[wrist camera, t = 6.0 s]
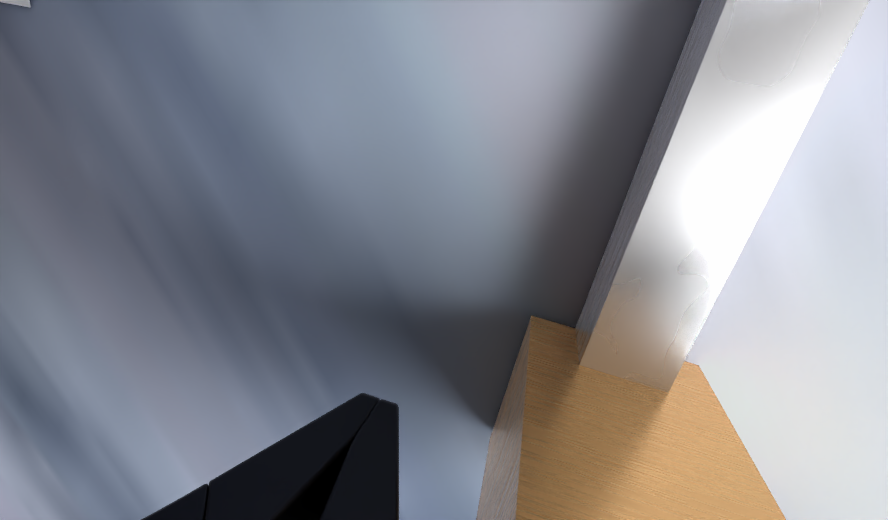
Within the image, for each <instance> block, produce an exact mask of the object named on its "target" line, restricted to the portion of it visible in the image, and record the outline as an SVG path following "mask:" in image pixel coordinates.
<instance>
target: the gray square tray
mask: <svg viewBox="0 0 888 520" xmlns="http://www.w3.org/2000/svg"><path fill="white" fill-rule="evenodd" d="M0 2H2V3H8V4H14V5H19V6H25V7H30V8H31V6H30V0H0Z"/></svg>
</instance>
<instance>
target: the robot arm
mask: <svg viewBox="0 0 888 520" xmlns="http://www.w3.org/2000/svg"><path fill="white" fill-rule="evenodd" d="M141 520H399V407H398V405H397V404H395V403H392V402H389V401H386V400H383V399H381V400H380V399H379V398H377V397H374V396H371V395H368V394H365V393H361V394H359V395H357V396H355V397H354V398H352V399H350V400H348V401H347V402H345V403H343V404H342V405H340V406H338V407H336V408H335V409H333V410H331V411H330V412H328V413H326V414H324V415H323V416H321V417H319V418H318V419H316V420H314V421H312V422H311V423H309V424H307V425H306V426H304V427H302V428H300V429H299V430H297V431H295V432H294V433H292V434H290V435H288V436H287V437H285V438H283V439H282V440H280V441H278V442H276V443H275V444H273V445H271V446H270V447H268V448H266V449H264V450H263V451H261V452H259V453H258V454H256V455H254V456H252V457H251V458H249V459H247V460H246V461H244V462H242V463H240V464H239V465H237V466H235V467H234V468H232V469H230V470H228V471H227V472H225V473H223V474H222V475H220V476H218V477H216V478H215V479H213V480H211V481H210V482H209V486H208V484H204V485H202V486H201V487H199V488H197V489H196V490H194V491H192V492H190V493H189V494H187V495H185V496H183V497H182V498H180V499H178V500H176V501H174V502H173V503H171V504H169V505H167V506H165V507H164V508H162V509H160V510H158V511H156V512H155V513H153V514H151V515H149V516H147V517H145V518H143V519H141Z"/></svg>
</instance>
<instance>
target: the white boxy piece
mask: <svg viewBox="0 0 888 520" xmlns="http://www.w3.org/2000/svg"><path fill="white" fill-rule="evenodd" d="M869 1H870V0H702V1H701V3H700V6H699V9H698V11H697V14H696V16H695V19H694V22H693V24H692V27H691V29H690V32H689V35H688V37H687V40H686V42H685V45H684V48H683V50H682V53H681V55H680V58H679V61H678V63H677V66H676V68H675V71H674V74H673V76H672V79H671V81H670V84H669V87H668V89H667V92H666V94H665V97H664V99H663V102H662V105H661V107H660V110H659V112H658V115H657V118H656V120H655V123H654V125H653V128H652V131H651V133H650V136H649V138H648V141H647V144H646V146H645V149H644V151H643V154H642V157H641V159H640V162H639V164H638V167H637V170H636V172H635V175H634V177H633V180H632V183H631V185H630V188H629V190H628V193H627V195H626V198H625V201H624V203H623V206H622V208H621V211H620V214H619V216H618V219H617V221H616V224H615V227H614V229H613V232H612V234H611V237H610V240H609V242H608V245H607V247H606V250H605V253H604V255H603V258H602V260H601V263H600V266H599V268H598V271H597V273H596V276H595V279H594V281H593V284H592V286H591V289H590V291H589V294H588V297H587V299H586V302H585V304H584V307H583V310H582V312H581V315H580V317H579V320H578V323H577V325H576V328H572V327H568V326H565V325H562V324H558V323H555V322H552V321H548V320H545V319H542V318H538V317H535V316H532V315H531V318H530V321H529V324H528V327H527V330H526V333H525V336H524V339H523V342H522V345H521V348H520V351H519V354H518V357H517V360H516V363H515V366H514V369H513V372H512V375H511V378H510V381H509V383H508V386H507V389H506V392H505V395H504V398H503V401H502V404H501V407H500V410H499V413H498V416H497V419H496V422H495V425H494V428H493V431H492V434H491V437H490V442H489V448H488V454H487V460H486V466H485V471H484V477H483V483H482V489H481V495H480V500H479V506H478V512H477V518H476V520H786V519H785V517H784V515H783V513H782V512H781V510H780V508H779V506H778V505H777V503H776V501H775V499H774V498H773V496H772V494H771V492H770V491H769V489H768V487H767V485H766V484H765V482H764V480H763V478H762V476H761V475H760V473H759V471H758V469H757V468H756V466H755V464H754V462H753V461H752V459H751V457H750V455H749V454H748V452H747V450H746V448H745V446H744V445H743V443H742V441H741V439H740V438H739V436H738V434H737V432H736V431H735V429H734V427H733V425H732V424H731V422H730V420H729V418H728V417H727V415H726V413H725V411H724V409H723V408H722V406H721V404H720V402H719V401H718V399H717V397H716V395H715V394H714V392H713V390H712V388H711V387H710V385H709V383H708V381H707V379H706V378H705V376H704V374H703V372H702V371H701V369H700V367H699V365H695V364H692V363H689V362H685V359H686V357H687V355H688V354H689V352H690V350H691V348H692V346H693V344H694V342H695V340H696V338H697V336H698V334H699V332H700V330H701V328H702V326H703V324H704V322H705V320H706V318H707V317H708V315H709V313H710V311H711V309H712V307H713V305H714V303H715V301H716V299H717V297H718V295H719V293H720V291H721V289H722V287H723V285H724V283H725V281H726V280H727V278H728V276H729V274H730V272H731V270H732V268H733V266H734V264H735V262H736V260H737V258H738V256H739V254H740V252H741V250H742V248H743V246H744V244H745V243H746V241H747V239H748V237H749V235H750V233H751V231H752V229H753V227H754V225H755V223H756V221H757V219H758V217H759V215H760V213H761V211H762V209H763V207H764V206H765V204H766V202H767V200H768V198H769V196H770V194H771V192H772V190H773V188H774V186H775V184H776V182H777V180H778V178H779V176H780V174H781V172H782V170H783V169H784V167H785V165H786V163H787V161H788V159H789V157H790V155H791V153H792V151H793V149H794V147H795V145H796V143H797V141H798V139H799V137H800V135H801V133H802V132H803V130H804V128H805V126H806V124H807V122H808V120H809V118H810V116H811V114H812V112H813V110H814V108H815V106H816V104H817V102H818V100H819V98H820V96H821V95H822V93H823V91H824V89H825V87H826V85H827V83H828V81H829V79H830V77H831V75H832V73H833V71H834V69H835V67H836V65H837V63H838V61H839V59H840V58H841V56H842V54H843V52H844V50H845V48H846V46H847V44H848V42H849V40H850V38H851V36H852V34H853V32H854V30H855V28H856V26H857V24H858V22H859V21H860V19H861V17H862V15H863V13H864V11H865V9H866V7H867V5H868V3H869Z"/></svg>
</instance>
